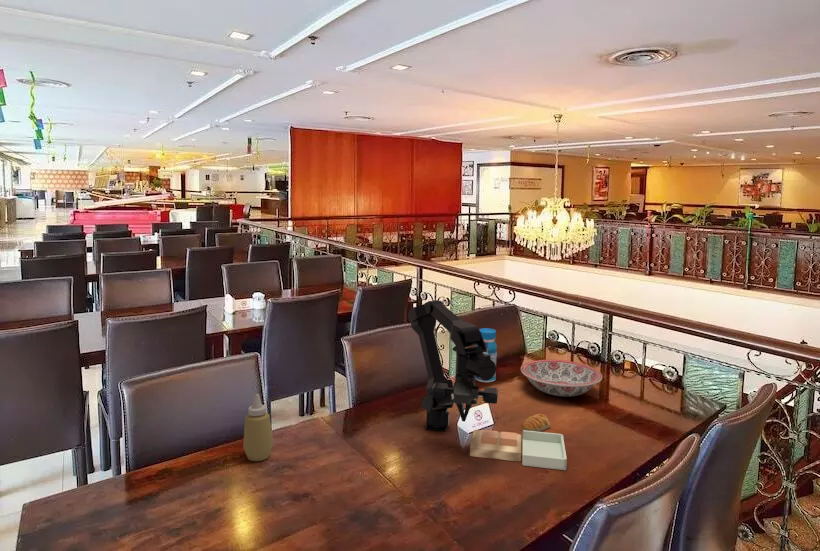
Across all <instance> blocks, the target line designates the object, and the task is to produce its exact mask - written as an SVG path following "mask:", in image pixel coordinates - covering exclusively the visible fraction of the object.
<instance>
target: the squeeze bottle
mask: <svg viewBox="0 0 820 551" xmlns="http://www.w3.org/2000/svg"><path fill="white" fill-rule="evenodd" d="M243 432H244V433H243V445H242V448H243V450H244V452H245V455H246V457H247V459H248V461H252V462H261V461H264V460H266V459H268V458H269V457H270V454H271V452H272V450H273V446H274V440H273V438H274V437H273V432H272V424H271V417H270V414H269V413H268V412H267V406H266V405H265V404H262V401H261V396H260V394H259V393H254V397H253V402H252V405H249V407H248V414H247V415H246V416H245V417H244V430H243Z"/></svg>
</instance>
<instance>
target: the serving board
mask: <svg viewBox="0 0 820 551" xmlns="http://www.w3.org/2000/svg"><path fill="white" fill-rule="evenodd" d="M482 430H483V429H482ZM482 430H480V429H473V431H472V437H471V441H470V442H471V443H470V446H469V447H470V448H469V456H470V457H476V458H485V459H492V460H502V461H503V460H504V461H510V462H511V461H512V462H519V463H520V462H521V460H522V458H521V457H522V434H520V433H517V447H516V446H507V445H500V444H501V431H500V432H499V431H498V439H497V444H488V443H481V435H482ZM521 463H522V462H521Z"/></svg>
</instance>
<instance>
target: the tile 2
mask: <svg viewBox="0 0 820 551" xmlns="http://www.w3.org/2000/svg"><path fill="white" fill-rule="evenodd" d="M500 432H501V444H500V445H507V446H516V447H517V434H518V433H517V432H510V431H509V432H508V431H500Z"/></svg>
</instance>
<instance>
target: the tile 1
mask: <svg viewBox="0 0 820 551" xmlns="http://www.w3.org/2000/svg"><path fill="white" fill-rule="evenodd" d="M498 432H499V430H490V429H482V435H481V443H488V444H497V439H498Z"/></svg>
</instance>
